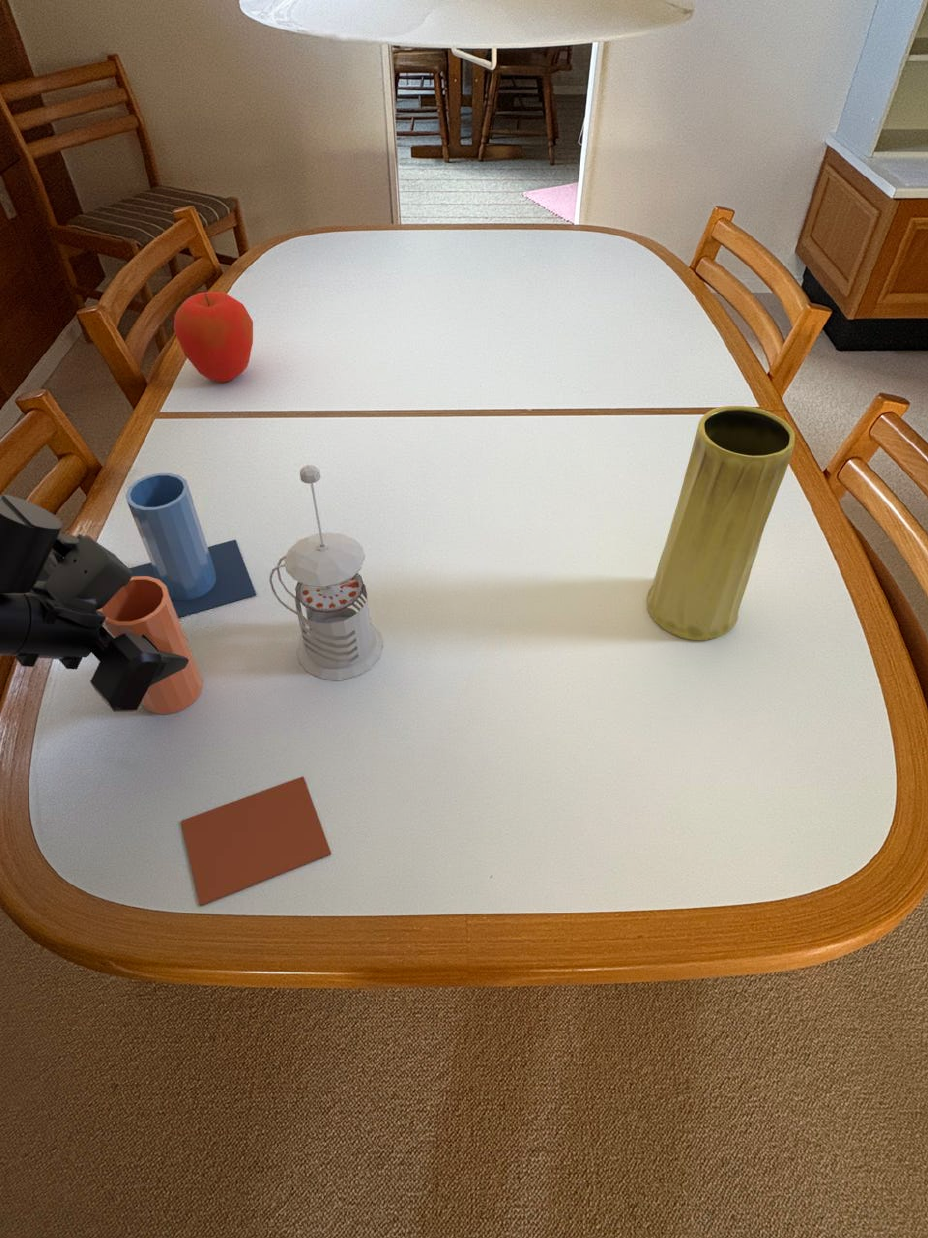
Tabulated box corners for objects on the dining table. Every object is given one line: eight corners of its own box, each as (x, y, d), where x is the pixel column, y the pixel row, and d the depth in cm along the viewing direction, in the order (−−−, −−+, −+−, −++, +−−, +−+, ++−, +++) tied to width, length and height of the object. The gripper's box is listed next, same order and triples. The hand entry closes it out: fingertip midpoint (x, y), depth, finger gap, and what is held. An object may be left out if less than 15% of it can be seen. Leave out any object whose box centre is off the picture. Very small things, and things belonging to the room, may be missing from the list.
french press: (362, 690, 86) (335, 510, 67) (266, 664, 88) (215, 484, 70) (395, 627, 92) (379, 447, 74) (306, 604, 94) (268, 425, 76)
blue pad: (138, 630, 92) (137, 628, 91) (124, 570, 98) (124, 569, 98) (256, 595, 95) (256, 594, 95) (235, 540, 102) (235, 539, 102)
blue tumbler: (166, 607, 94) (130, 516, 84) (157, 572, 98) (121, 481, 88) (221, 591, 96) (193, 500, 85) (210, 557, 100) (181, 466, 89)
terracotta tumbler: (145, 722, 83) (100, 633, 72) (135, 677, 87) (92, 587, 76) (208, 702, 84) (173, 612, 74) (196, 659, 89) (161, 568, 78)
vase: (755, 614, 93) (827, 436, 75) (695, 656, 89) (755, 477, 71) (687, 565, 99) (738, 388, 81) (627, 602, 95) (667, 424, 76)
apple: (270, 387, 128) (253, 302, 118) (195, 402, 125) (172, 316, 115) (253, 351, 136) (236, 269, 125) (183, 365, 133) (160, 282, 122)
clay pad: (200, 906, 69) (200, 905, 69) (181, 821, 75) (181, 820, 75) (331, 854, 73) (331, 853, 72) (303, 777, 78) (303, 776, 78)
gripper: (104, 596, 61) (250, 619, 75) (1, 492, 70) (148, 528, 84) (46, 714, 63) (199, 715, 77) (-46, 598, 72) (105, 617, 86)
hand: (162, 638), depth 81 cm, fingers open, 9 cm apart
